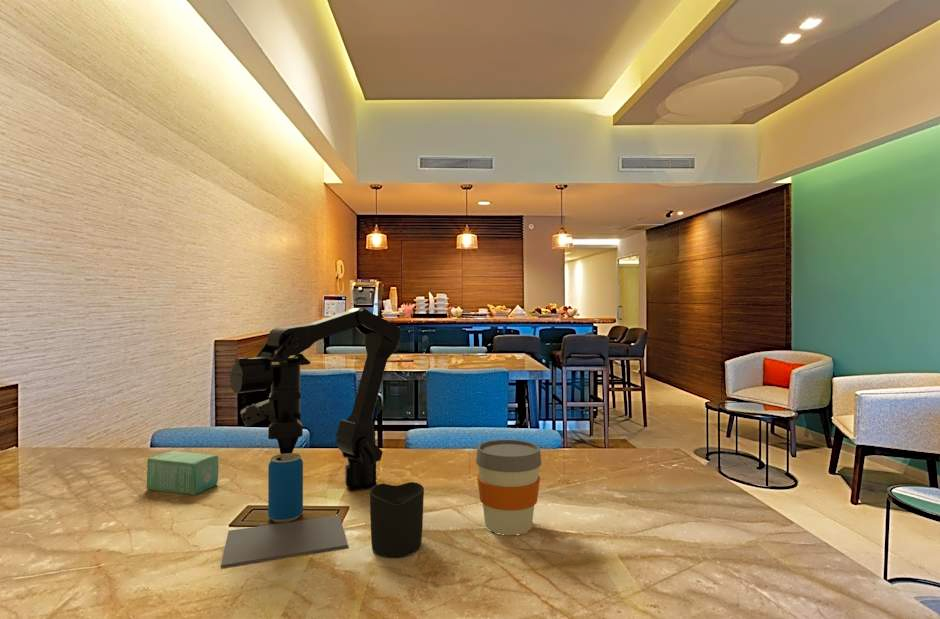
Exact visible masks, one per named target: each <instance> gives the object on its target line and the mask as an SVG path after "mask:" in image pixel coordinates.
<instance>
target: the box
mask: <svg viewBox="0 0 940 619" xmlns="http://www.w3.org/2000/svg"><path fill="white" fill-rule="evenodd" d="M146 466H147V472H146V489H147V490H150V491H157V492H166V493H173V494H181V495H189V494H190V495H191V496H196V495H198V494H200V493H202V492H204V490H205V491H207V490H208V489H211V488H213V487H215V486H217V484H218V480H219V456H218V455H215V454H205V453H197V452H186V451H177V450H170V451H168V452H164V453H161V454H158V455H154V456H151V457H148V458H147V465H146ZM206 489H207V490H206ZM195 494H196V495H195Z"/></svg>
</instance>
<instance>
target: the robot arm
mask: <svg viewBox="0 0 940 619" xmlns="http://www.w3.org/2000/svg"><path fill="white" fill-rule="evenodd" d="M354 328H355V329H356V330H357V331H358V332H359V333H361V334H362V336H365V338H364V340H365V341H364V346H365V350H366V359H365V363H364V366H363V370H362V374H361V376H360V377H361V378H360V380H359V384H358V389H357V391H356V395H355V400H354V403H353V406H352V409H351V410H352V411H351V413H350V415H349V416H348V417H347V419H345V420H344V419H340V421H339V423H338V427H337V428H338V430H337V432H336V434H335V438H336V446H337V448H338V449H339V451H340V452H341V454H342V457H343V458H346V459H347V464H346V465H344V483H345V485H346V487H347V488H348V490H349V491H350V492H351V491H353V492H354V491H359V490H368V489H369V490H370V489H371V488H372V487H373V486H375V485H378V483H377V462H380V461H381V459H382V456H383V450H382V449H381V448H380V447H379V446H378V445H376V444H375V443H374V439H375V429H374V428H375V427H374V422H373V416H374V412H375V408H376V404H377V400H378V395H379V392H380V389H381V385H382V382H383V378H384V375H385V374H384V373H385V370H386V366H387V362H388V360H389V358H390V357H391V356H392V355H393V353H394V352H395V351H396V350H397V347H398V345H399V342H400V341H401V337H402V330H401V329H400V327H399V325H398V324H397V323H396V322H393V321H388V320H386V319H385V318H383V317H380V316H378V315H376V314H374V313H373V312H371V311H370V310H368V309H367V308H364V307H352V308H350V309H348V310H345V311H344V312H340V313H336V314H334V315H331V316H328V317H324V318H322V319H318V320H316V321H312V322H309V323H306V324H305V323H304V324H295V325H286V326H279V327H275V328H273V329H271V330H270V331H269V334H268V335H267V339H266V342H265V343H264V345H263V347H262V348H261V349H260V351H259V352H258V353H257V354H256V356H255V357H235V359H234V361H235V362H234V365H233V366H232V368H231V372H230V373H229V374H230V375H229V382H230V388H231V389H232V392H233V393H235V394H242V393H251V392H259V391H266V390H267V389H268V388H269V387H270V393H269V396H268V399H266V400H263V401H260V402H257V403H252V404H251V405H247V406H246V407H244V408H242V409H241V410H240V412H239V414H240V416H241V420H242V422H243V423H244V427H245V428H249V427H252V426H253V425H254V424H257V423H259V422H262V421H265V420H267V419H268V422H270V423H269V425H268V430H267V432H268V436H267V437H268V440H276V441H277V444H278V448H279V454H285V453H294V449H295V447H296V445H297V443H298V440H299V438H301V437H303V434H304V433H303V428H304V427H303V426H304V425H303V422H301V397H302V396H301V366H305V365H306V366H307V365H308V366H309V365H310V364H311V361H310V360H308V358H306V357H305V356H304V354H303V352H304V351H307V350H308V349H310V348H311V347H312V346H313V345H314V344H315V343H317V342H318V341H321V340H323V339H326V338H328V337H331V336H334V335H337V334H340V333H343V332H346V331H349V330H352V329H354Z"/></svg>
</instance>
